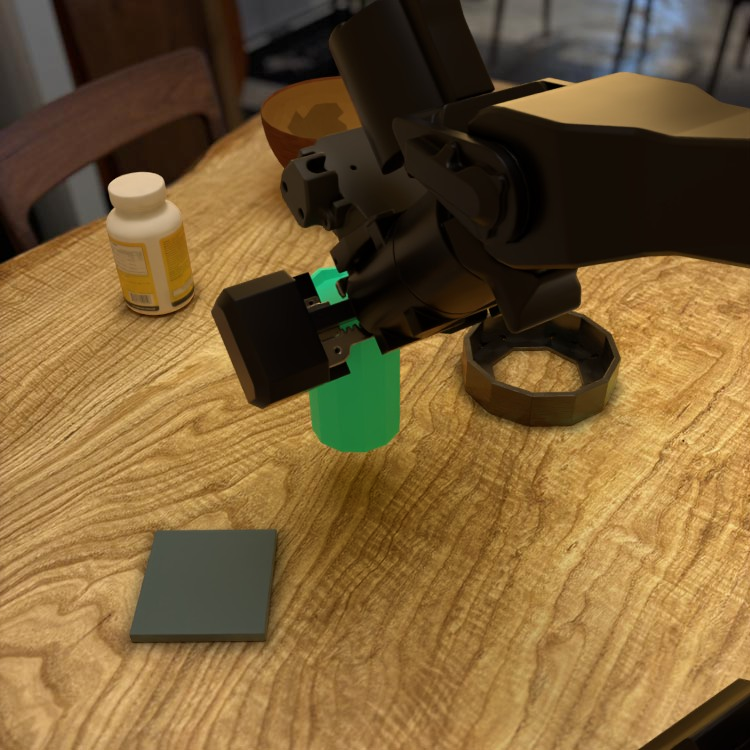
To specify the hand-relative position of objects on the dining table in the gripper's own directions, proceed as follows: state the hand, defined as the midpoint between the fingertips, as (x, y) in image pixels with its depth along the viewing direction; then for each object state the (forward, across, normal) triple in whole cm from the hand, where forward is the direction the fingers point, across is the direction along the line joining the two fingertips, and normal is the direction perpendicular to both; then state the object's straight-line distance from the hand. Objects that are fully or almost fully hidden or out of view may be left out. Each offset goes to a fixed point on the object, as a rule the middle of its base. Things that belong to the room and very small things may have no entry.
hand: (342, 332), depth 54 cm
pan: (+14, -22, +3) cm, 27 cm away
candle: (+4, 0, +6) cm, 7 cm away
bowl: (+35, -22, -18) cm, 45 cm away
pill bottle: (+29, +4, -12) cm, 31 cm away
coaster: (+6, +13, +12) cm, 18 cm away
